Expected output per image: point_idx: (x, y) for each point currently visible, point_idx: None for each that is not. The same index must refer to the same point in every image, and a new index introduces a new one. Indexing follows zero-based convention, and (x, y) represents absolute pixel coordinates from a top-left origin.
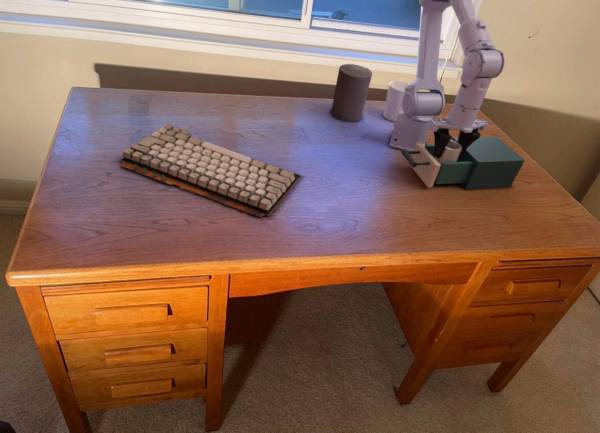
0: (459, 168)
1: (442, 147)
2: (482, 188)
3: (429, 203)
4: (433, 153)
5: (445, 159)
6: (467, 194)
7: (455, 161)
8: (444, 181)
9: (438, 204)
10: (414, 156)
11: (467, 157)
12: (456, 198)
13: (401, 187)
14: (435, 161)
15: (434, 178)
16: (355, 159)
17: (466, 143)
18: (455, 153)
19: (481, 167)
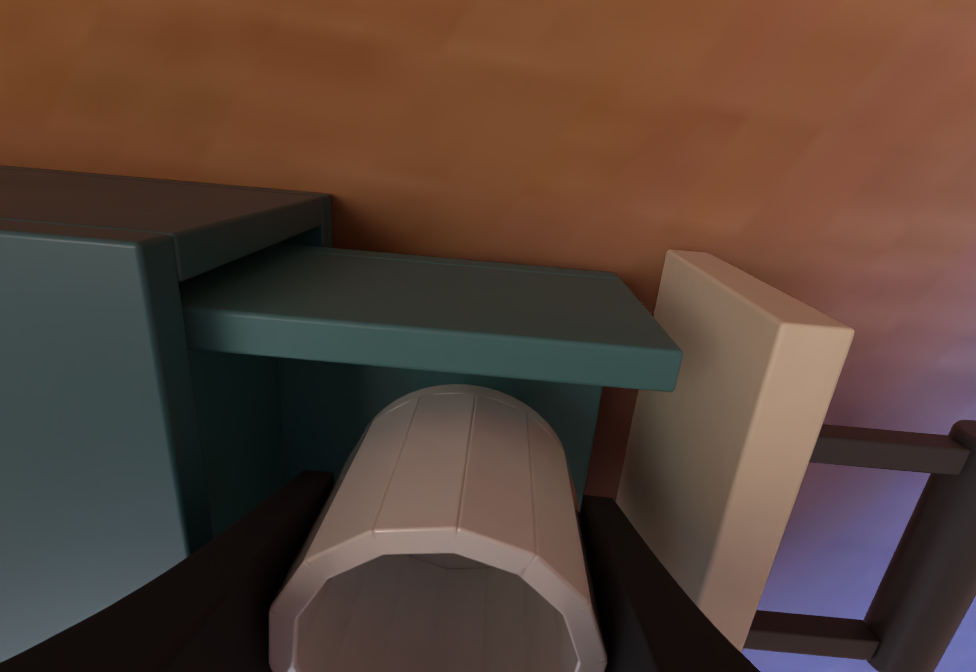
0: (413, 300)
1: (701, 625)
2: (161, 179)
3: (812, 66)
4: None
5: (546, 456)
6: (353, 127)
7: (406, 415)
8: (540, 272)
9: (737, 33)
10: None
11: None
12: (497, 89)
13: (880, 324)
14: (783, 420)
15: (716, 271)
16: (946, 651)
17: (196, 645)
18: (455, 487)
19: (109, 216)
